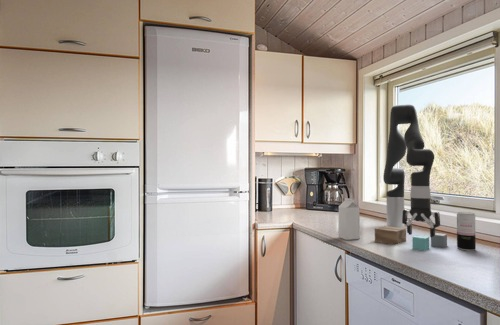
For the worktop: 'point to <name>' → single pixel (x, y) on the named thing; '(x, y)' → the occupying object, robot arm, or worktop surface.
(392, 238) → the walnut base block
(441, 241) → the gray cube
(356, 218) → the milk carton
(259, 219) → the worktop surface
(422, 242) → the teal cube
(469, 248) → the white and black canister
